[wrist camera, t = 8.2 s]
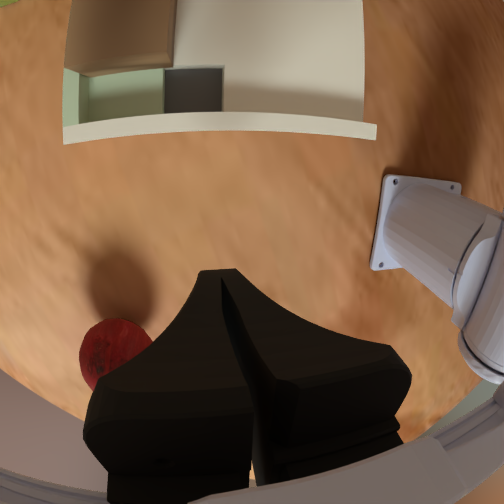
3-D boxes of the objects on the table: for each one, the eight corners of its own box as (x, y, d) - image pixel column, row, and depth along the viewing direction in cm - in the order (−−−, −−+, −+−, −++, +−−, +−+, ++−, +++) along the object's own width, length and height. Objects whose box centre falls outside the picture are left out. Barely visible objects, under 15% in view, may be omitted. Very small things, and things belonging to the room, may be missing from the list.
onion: (81, 302, 20) (49, 376, 13) (149, 293, 21) (136, 371, 14) (106, 357, 23) (91, 431, 16) (168, 350, 24) (166, 429, 16)
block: (178, -5, 12) (174, -34, 8) (173, 67, 14) (166, 51, 10) (97, 6, 11) (76, -18, 8) (90, 77, 13) (63, 67, 10)
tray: (350, -20, 14) (371, -35, 11) (351, 136, 19) (375, 140, 16) (96, -29, 11) (84, -49, 8) (82, 140, 16) (63, 144, 13)
